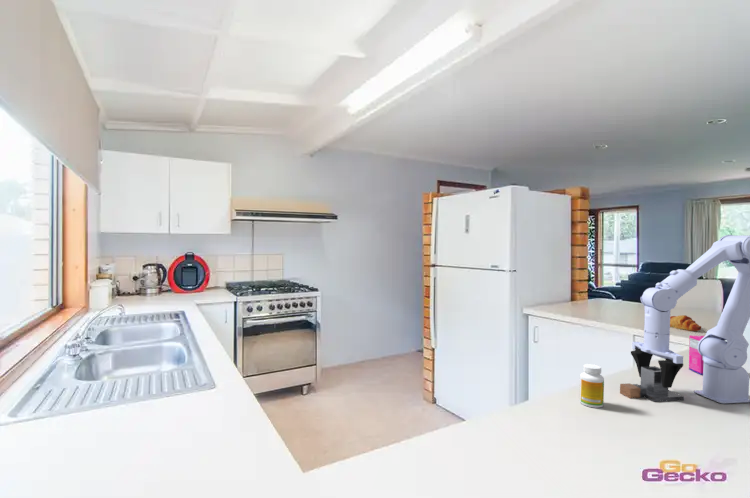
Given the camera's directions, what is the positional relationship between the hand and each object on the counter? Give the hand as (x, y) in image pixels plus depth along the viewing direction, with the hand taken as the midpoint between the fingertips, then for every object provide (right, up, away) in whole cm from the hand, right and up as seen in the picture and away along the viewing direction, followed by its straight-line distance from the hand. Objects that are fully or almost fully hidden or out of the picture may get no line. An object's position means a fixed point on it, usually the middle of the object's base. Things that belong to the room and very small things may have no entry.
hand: (654, 382), depth 110 cm
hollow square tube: (0, -2, 0) cm, 2 cm away
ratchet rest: (-2, -3, 0) cm, 4 cm away
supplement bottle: (-21, -3, -7) cm, 23 cm away
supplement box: (+29, -4, +20) cm, 36 cm away
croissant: (+75, -3, +89) cm, 116 cm away
